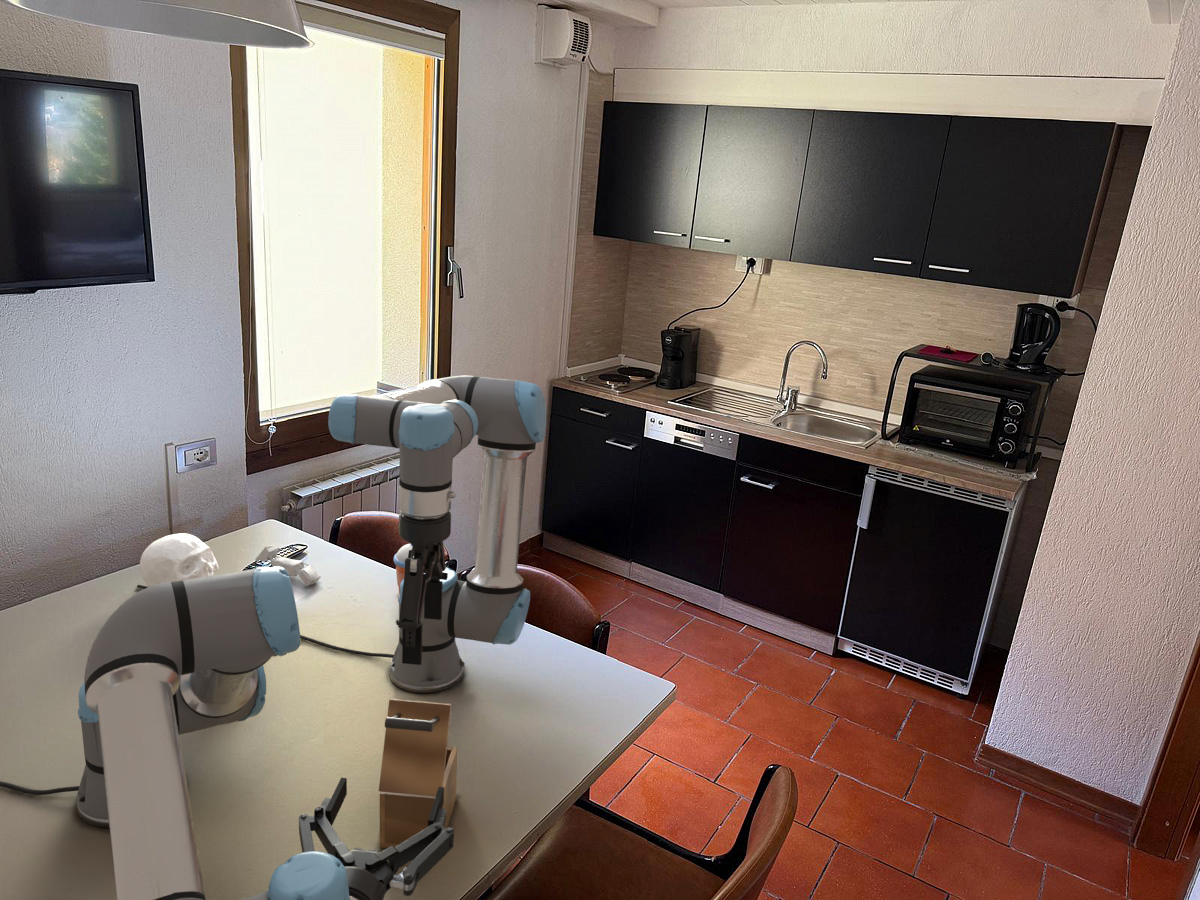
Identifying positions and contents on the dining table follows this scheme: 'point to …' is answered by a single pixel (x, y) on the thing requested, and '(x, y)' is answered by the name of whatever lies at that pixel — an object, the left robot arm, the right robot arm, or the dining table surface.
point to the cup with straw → (401, 562)
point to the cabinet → (414, 808)
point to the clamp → (289, 565)
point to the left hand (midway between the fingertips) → (392, 790)
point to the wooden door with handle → (415, 747)
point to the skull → (176, 560)
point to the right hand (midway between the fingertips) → (422, 639)
